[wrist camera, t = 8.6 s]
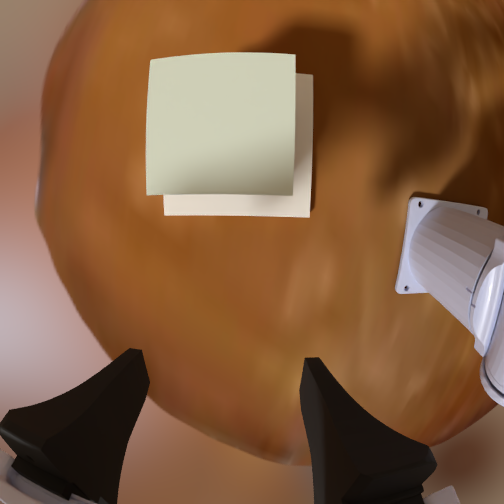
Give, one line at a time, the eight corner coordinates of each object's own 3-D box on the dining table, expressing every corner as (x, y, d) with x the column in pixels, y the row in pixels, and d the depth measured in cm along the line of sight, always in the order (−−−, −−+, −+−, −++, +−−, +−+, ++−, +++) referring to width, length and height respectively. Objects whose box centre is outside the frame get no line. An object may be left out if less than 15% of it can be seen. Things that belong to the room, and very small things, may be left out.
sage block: (283, 86, 12) (295, 54, 8) (281, 184, 14) (292, 195, 9) (181, 87, 12) (150, 60, 8) (179, 184, 14) (146, 195, 9)
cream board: (310, 77, 17) (312, 74, 16) (307, 215, 20) (309, 217, 19) (168, 79, 17) (165, 76, 16) (167, 213, 20) (164, 215, 19)
